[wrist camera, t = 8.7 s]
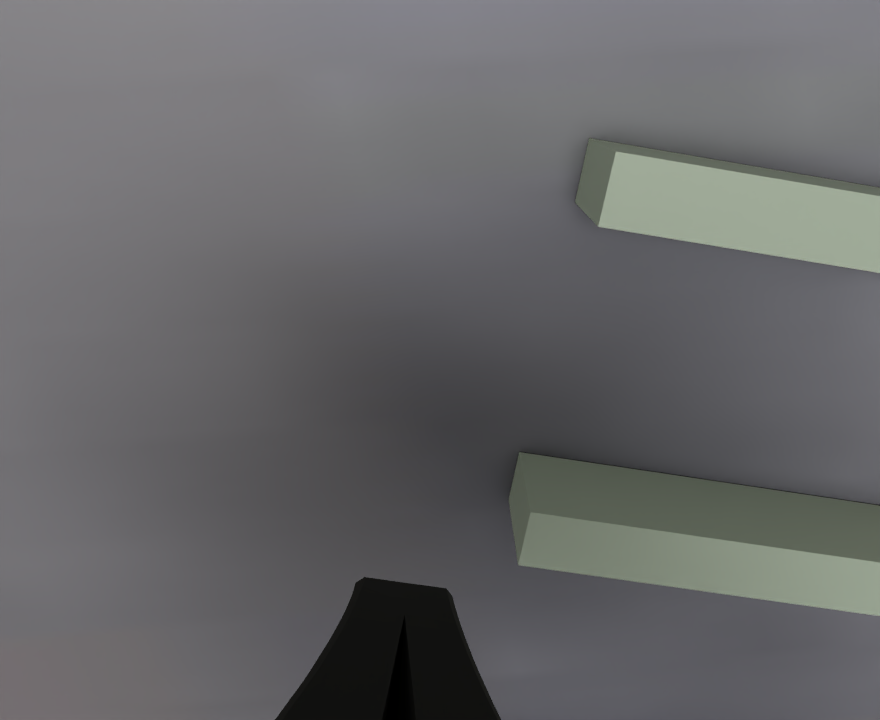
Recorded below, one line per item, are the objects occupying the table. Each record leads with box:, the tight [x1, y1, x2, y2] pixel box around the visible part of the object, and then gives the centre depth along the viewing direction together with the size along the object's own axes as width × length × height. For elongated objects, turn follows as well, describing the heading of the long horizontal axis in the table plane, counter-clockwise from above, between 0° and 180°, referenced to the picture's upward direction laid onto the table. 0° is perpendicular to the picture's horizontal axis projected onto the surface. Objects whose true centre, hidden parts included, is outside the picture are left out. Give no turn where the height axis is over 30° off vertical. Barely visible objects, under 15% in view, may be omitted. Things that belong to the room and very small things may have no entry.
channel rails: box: [509, 138, 880, 616], centre depth 18 cm, size 10×11×3 cm
